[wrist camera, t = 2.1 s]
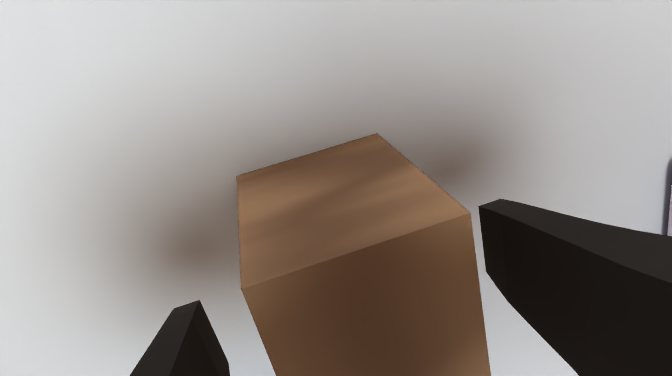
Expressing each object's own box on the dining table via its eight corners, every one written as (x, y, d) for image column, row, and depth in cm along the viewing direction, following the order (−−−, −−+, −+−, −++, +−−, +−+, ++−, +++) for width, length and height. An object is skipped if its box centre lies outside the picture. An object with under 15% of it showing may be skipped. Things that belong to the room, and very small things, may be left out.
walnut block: (376, 133, 14) (470, 212, 8) (401, 251, 16) (491, 379, 10) (236, 175, 13) (241, 288, 8) (278, 292, 15) (306, 449, 10)
